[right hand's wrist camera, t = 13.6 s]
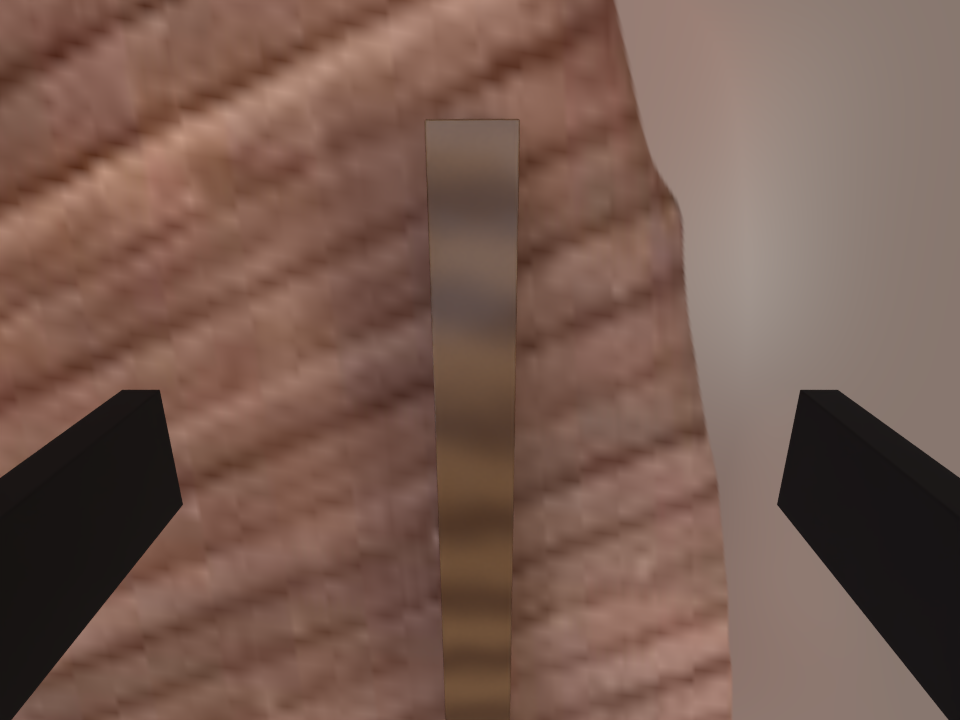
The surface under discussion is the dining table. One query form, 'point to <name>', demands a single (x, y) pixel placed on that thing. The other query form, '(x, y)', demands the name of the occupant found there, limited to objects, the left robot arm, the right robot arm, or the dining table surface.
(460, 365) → the bar
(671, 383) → the dining table surface
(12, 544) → the right robot arm
